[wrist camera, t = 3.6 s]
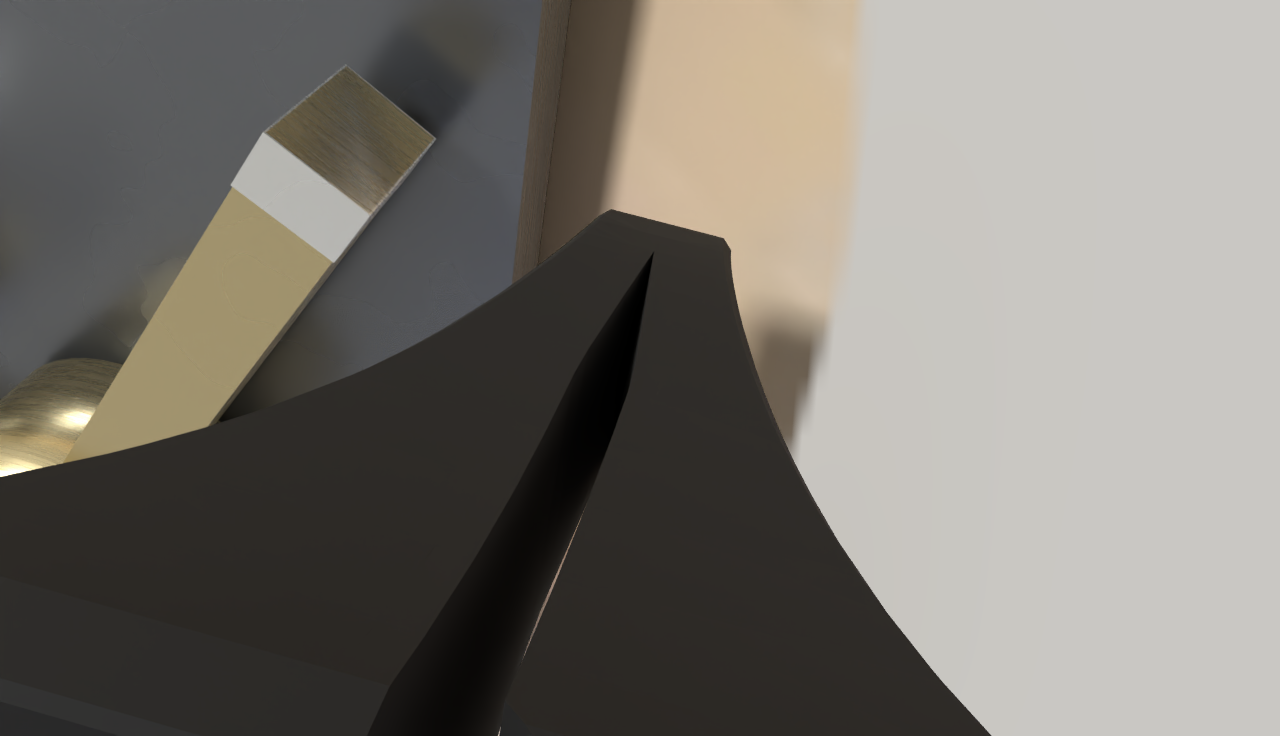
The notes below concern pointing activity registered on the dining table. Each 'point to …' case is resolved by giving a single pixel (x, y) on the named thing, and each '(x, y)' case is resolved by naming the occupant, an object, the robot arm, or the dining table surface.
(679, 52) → the dining table surface
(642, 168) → the dining table surface
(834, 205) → the dining table surface
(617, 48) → the dining table surface
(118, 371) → the brass lever handle
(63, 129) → the levelling base
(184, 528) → the robot arm
